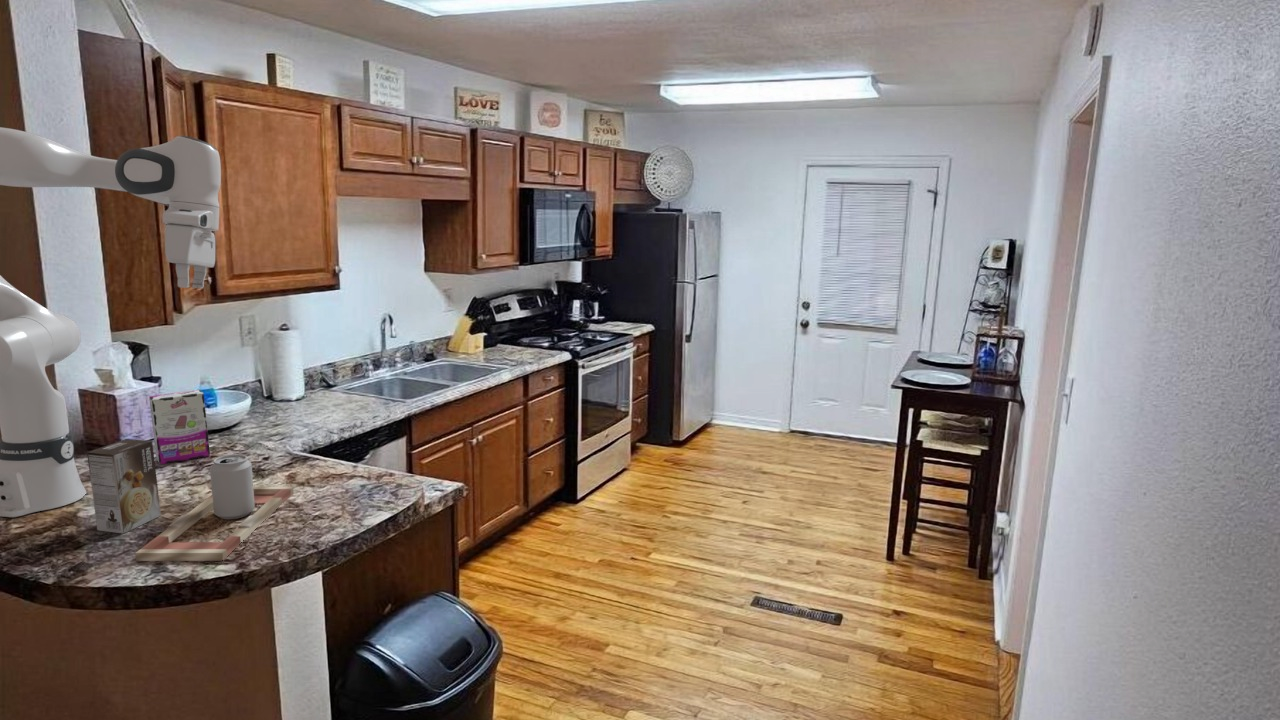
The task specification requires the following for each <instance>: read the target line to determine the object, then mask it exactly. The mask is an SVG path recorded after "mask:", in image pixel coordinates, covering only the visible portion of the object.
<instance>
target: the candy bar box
mask: <svg viewBox="0 0 1280 720" xmlns="http://www.w3.org/2000/svg"><path fill="white" fill-rule="evenodd" d="M148 398H149V399H148V400H149V407H150V414H151V415H150V417H151V424H152V431H153V432H152V435H153V441H154V448H155V449H154V451H155V457H156V460H158V461H157V462H158V464H159V465H165V464H171V463H177V462H181V461H182V462H183V461H188V460H195V459H201V458H205V457H206V458H207V457H210V456H211V451H210V441H209V431H208V424H207V423H208V422H207V421H208V420H207V413H206V412H207V410H206V405H205V394H204V392H203V391H202V390H200V389H196V390H195V389H194V390H188V391H187V390H186V391H178V392H172V393H165V394H156V395H149V397H148Z"/></svg>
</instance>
